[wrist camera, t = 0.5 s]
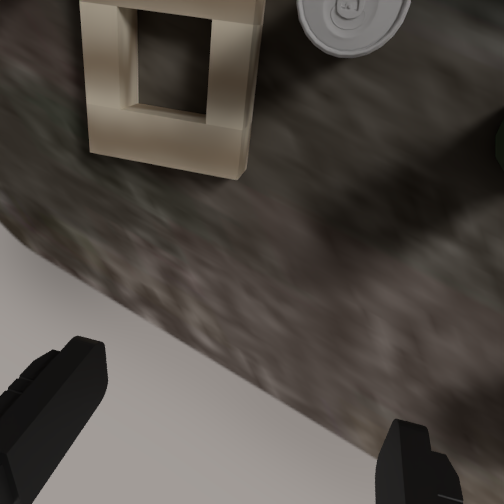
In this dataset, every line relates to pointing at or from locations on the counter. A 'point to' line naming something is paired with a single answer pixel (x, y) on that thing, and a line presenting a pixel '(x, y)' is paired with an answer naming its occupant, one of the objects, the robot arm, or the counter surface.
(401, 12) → the beverage can
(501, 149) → the character mug
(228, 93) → the frame
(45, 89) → the counter surface
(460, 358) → the counter surface
